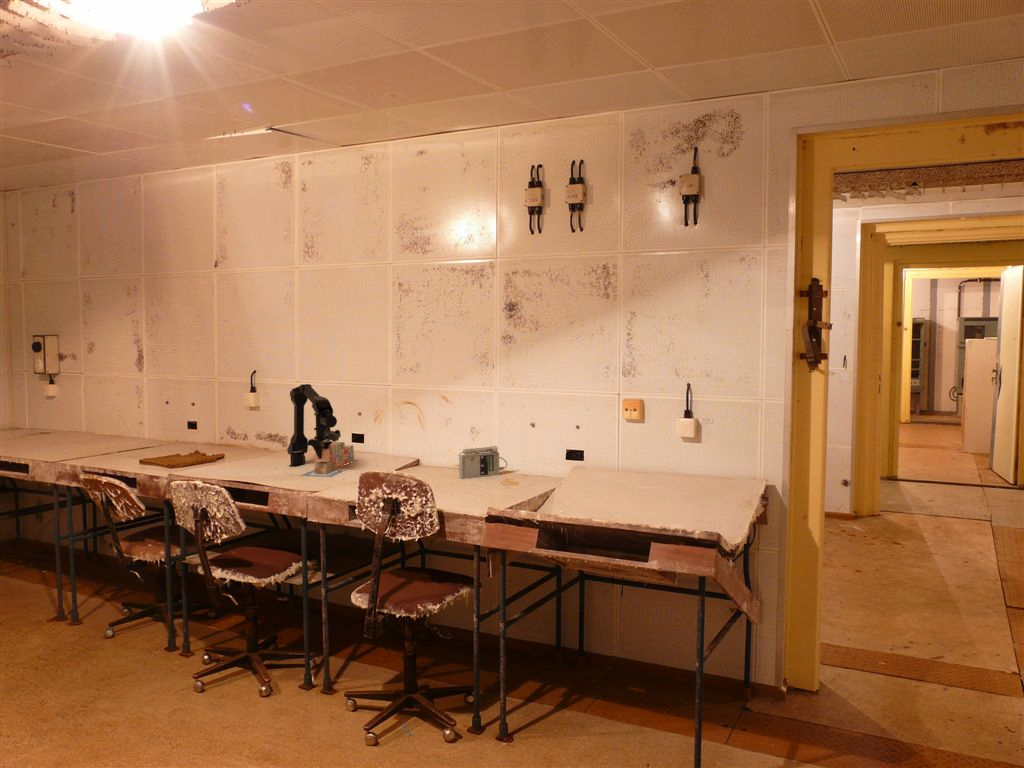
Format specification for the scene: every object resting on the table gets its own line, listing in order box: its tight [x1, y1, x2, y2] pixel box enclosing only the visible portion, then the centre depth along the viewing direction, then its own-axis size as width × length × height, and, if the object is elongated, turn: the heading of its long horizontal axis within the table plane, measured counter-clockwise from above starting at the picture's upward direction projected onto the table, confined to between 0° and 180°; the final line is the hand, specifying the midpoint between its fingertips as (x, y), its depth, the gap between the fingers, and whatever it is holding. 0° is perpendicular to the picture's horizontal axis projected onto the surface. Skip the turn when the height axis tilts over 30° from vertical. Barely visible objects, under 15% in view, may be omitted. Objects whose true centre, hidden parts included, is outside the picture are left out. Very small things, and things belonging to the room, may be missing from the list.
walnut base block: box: [313, 461, 333, 474], centre depth 379 cm, size 6×6×5 cm
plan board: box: [299, 469, 347, 478], centre depth 379 cm, size 16×16×1 cm
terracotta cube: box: [315, 449, 330, 462], centre depth 378 cm, size 5×5×5 cm
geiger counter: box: [458, 445, 508, 480], centre depth 373 cm, size 14×6×25 cm
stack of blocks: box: [324, 441, 355, 470], centre depth 399 cm, size 21×6×12 cm, turn 162°
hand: (322, 457), depth 378 cm, fingers closed on terracotta cube, 5 cm apart
